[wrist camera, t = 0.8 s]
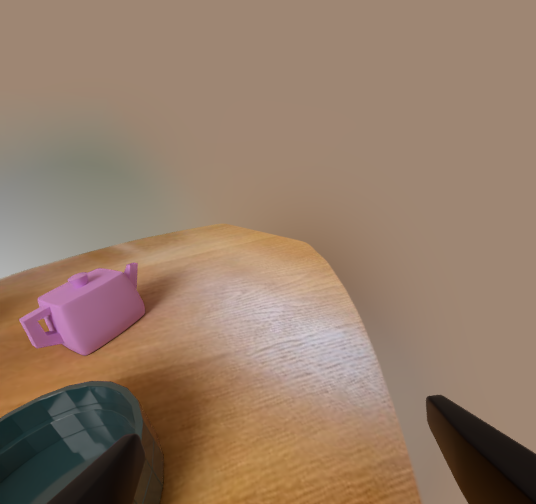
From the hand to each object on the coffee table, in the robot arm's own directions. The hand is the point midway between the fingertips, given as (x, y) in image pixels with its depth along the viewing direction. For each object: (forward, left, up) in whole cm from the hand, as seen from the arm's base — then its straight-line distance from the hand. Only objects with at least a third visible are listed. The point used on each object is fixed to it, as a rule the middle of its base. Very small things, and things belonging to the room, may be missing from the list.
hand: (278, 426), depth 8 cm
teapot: (+25, +36, -16) cm, 47 cm away
